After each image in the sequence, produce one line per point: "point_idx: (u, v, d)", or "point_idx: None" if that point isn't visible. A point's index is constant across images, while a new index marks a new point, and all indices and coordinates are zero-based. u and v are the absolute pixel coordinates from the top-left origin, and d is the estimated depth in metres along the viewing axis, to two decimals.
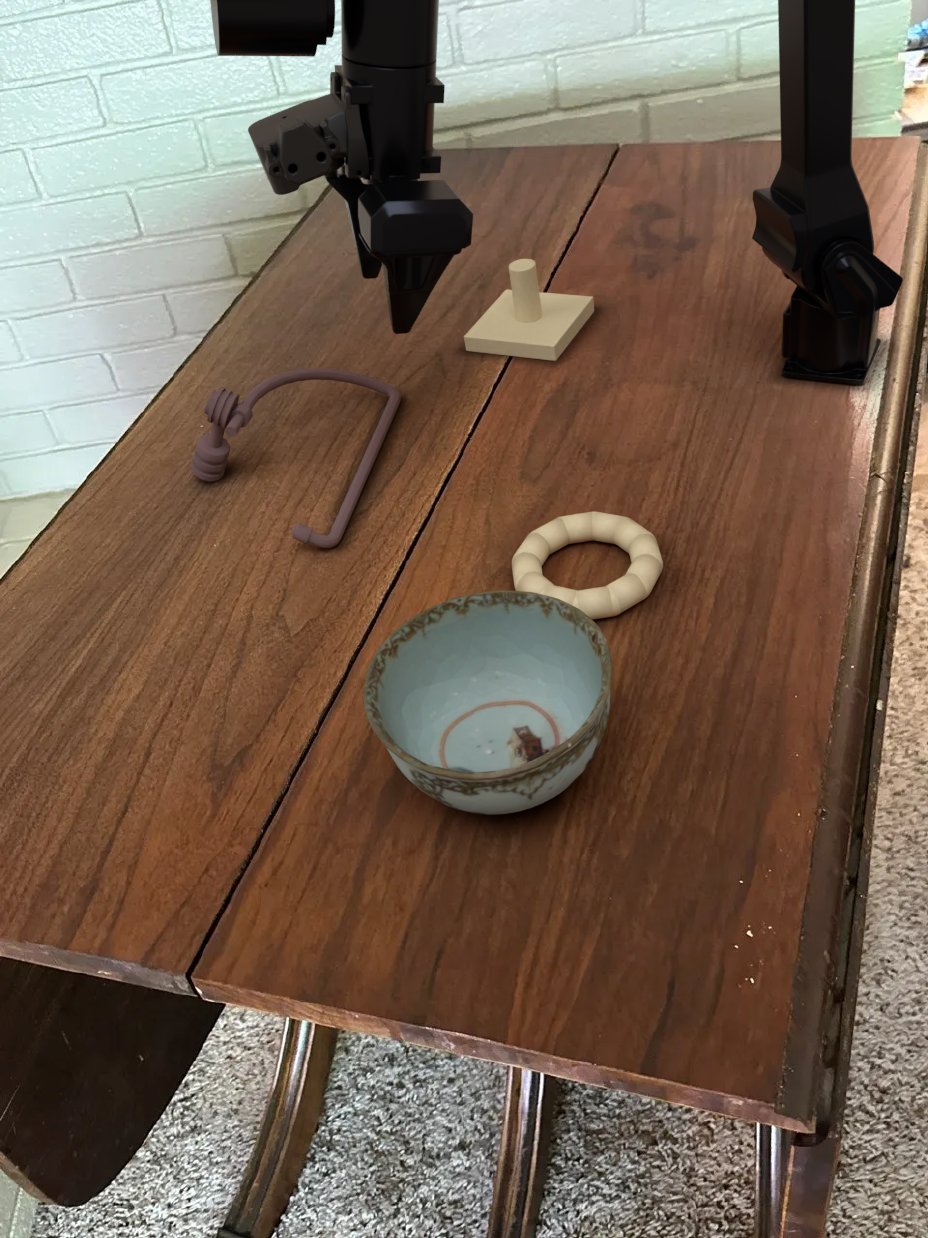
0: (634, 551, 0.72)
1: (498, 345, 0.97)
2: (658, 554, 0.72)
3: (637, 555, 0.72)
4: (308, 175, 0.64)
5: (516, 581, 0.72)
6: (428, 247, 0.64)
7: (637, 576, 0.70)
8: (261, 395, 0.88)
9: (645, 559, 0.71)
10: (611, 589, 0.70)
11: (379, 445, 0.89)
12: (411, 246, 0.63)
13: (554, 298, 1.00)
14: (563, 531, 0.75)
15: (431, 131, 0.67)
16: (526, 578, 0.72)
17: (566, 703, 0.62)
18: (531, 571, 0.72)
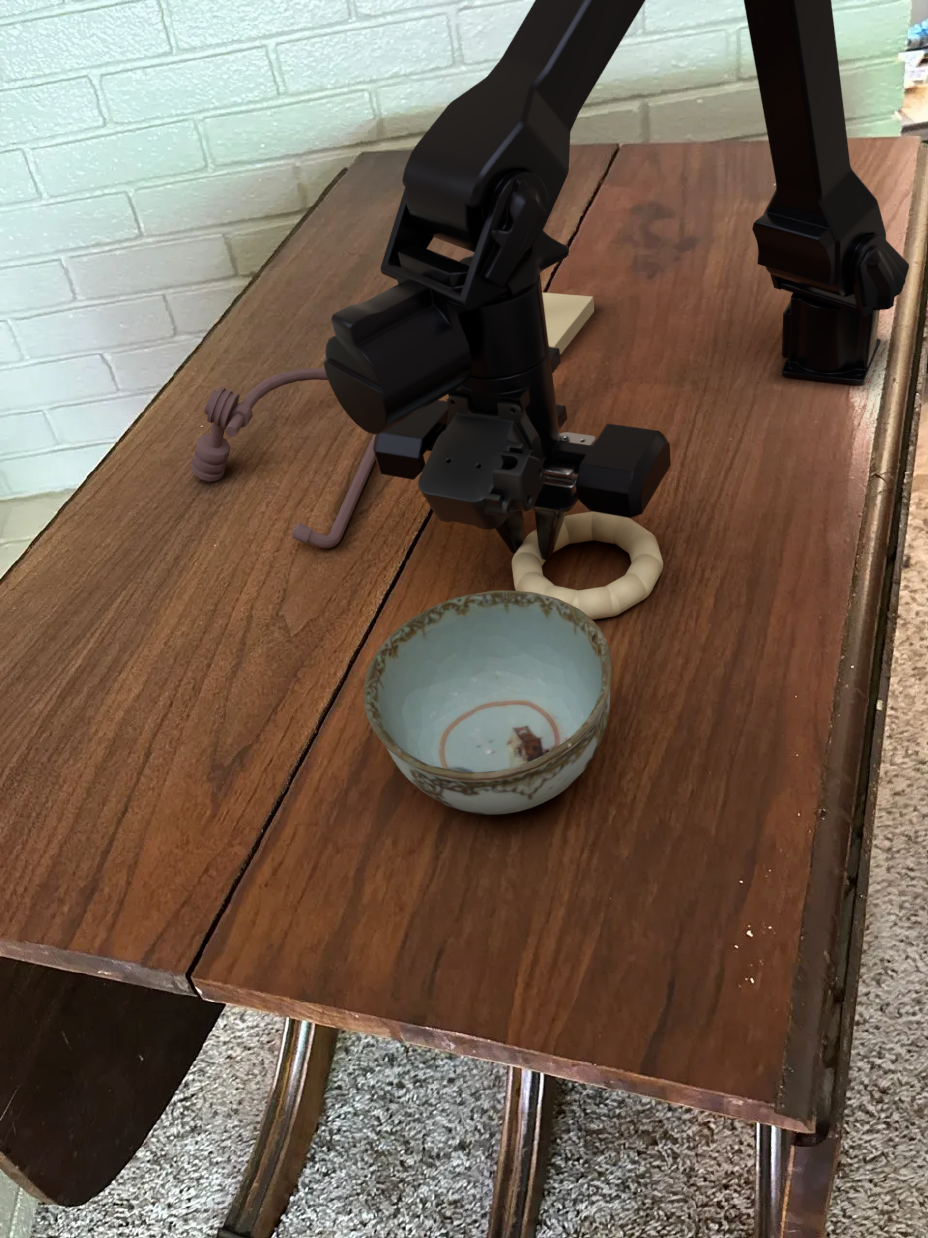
0: (634, 551, 0.72)
1: None
2: (658, 554, 0.72)
3: (637, 555, 0.72)
4: (536, 495, 0.63)
5: (516, 581, 0.72)
6: (658, 484, 0.66)
7: (637, 576, 0.70)
8: (261, 395, 0.88)
9: (645, 559, 0.71)
10: (611, 589, 0.70)
11: None
12: (652, 492, 0.65)
13: (554, 298, 1.00)
14: (563, 531, 0.75)
15: None
16: (526, 578, 0.72)
17: (566, 703, 0.62)
18: (531, 571, 0.72)
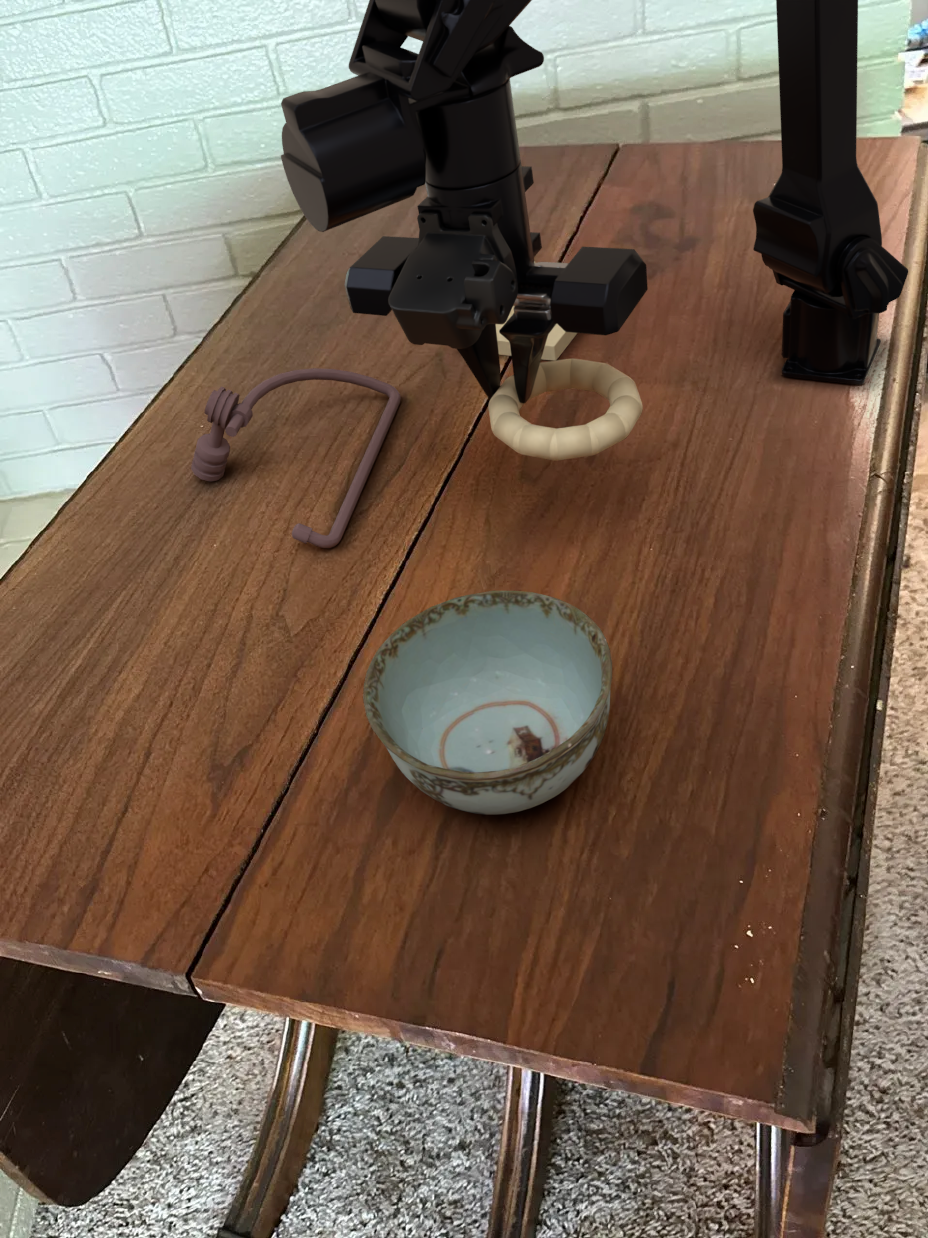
0: (613, 394, 0.71)
1: (498, 345, 0.97)
2: (638, 396, 0.71)
3: (616, 397, 0.71)
4: (509, 308, 0.61)
5: (493, 421, 0.71)
6: (634, 305, 0.65)
7: (616, 415, 0.69)
8: (261, 395, 0.88)
9: (624, 400, 0.70)
10: (590, 426, 0.68)
11: (379, 445, 0.89)
12: (628, 312, 0.64)
13: None
14: (541, 376, 0.74)
15: None
16: (503, 417, 0.70)
17: (566, 703, 0.62)
18: (508, 411, 0.71)
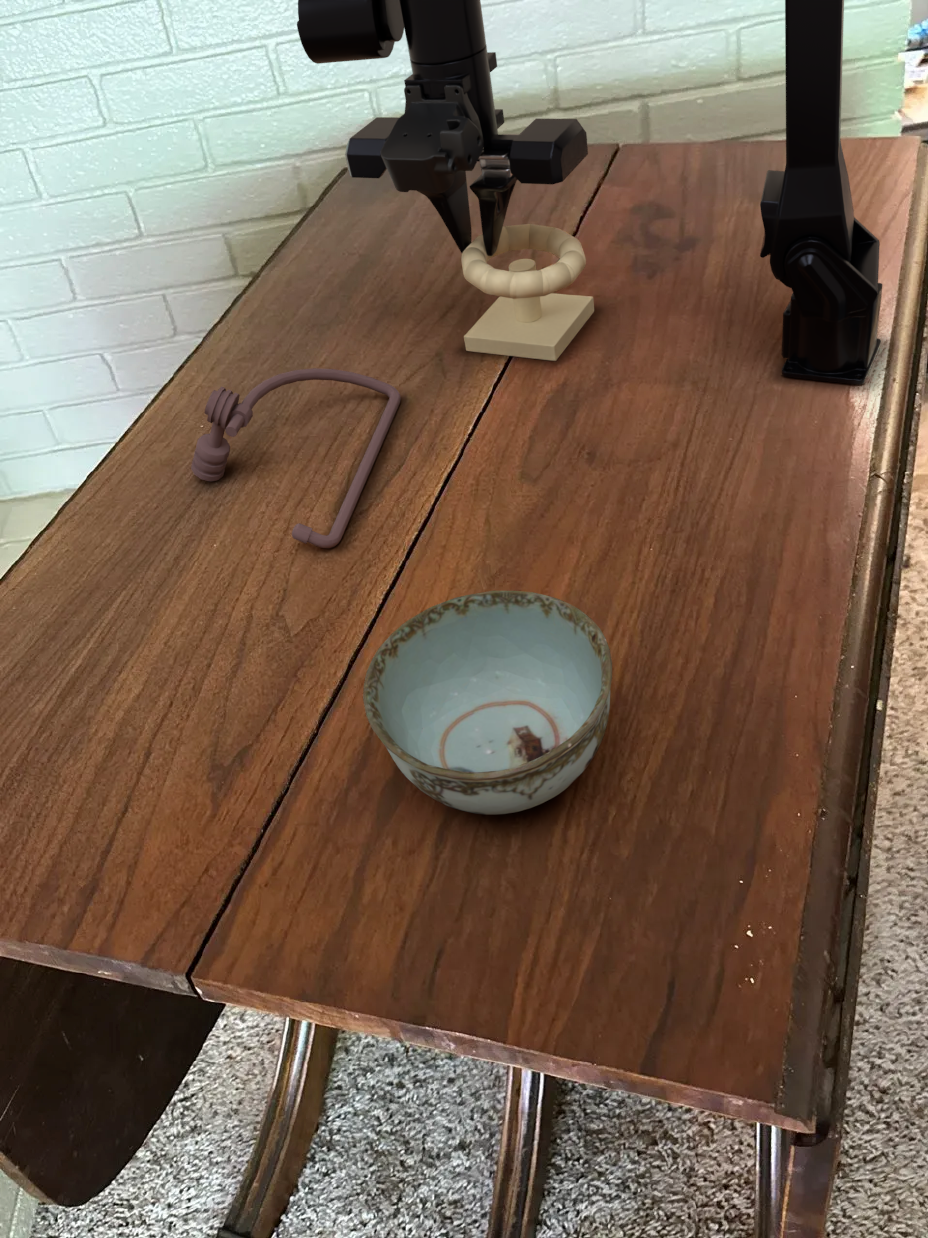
0: (563, 250, 0.88)
1: (498, 345, 0.97)
2: (582, 252, 0.87)
3: (565, 252, 0.87)
4: (476, 159, 0.78)
5: (465, 267, 0.87)
6: (576, 163, 0.81)
7: (564, 264, 0.86)
8: (261, 395, 0.88)
9: (571, 253, 0.87)
10: (543, 271, 0.85)
11: (379, 445, 0.89)
12: (571, 167, 0.80)
13: (554, 298, 1.00)
14: (505, 236, 0.90)
15: None
16: (473, 263, 0.87)
17: (566, 703, 0.62)
18: (477, 259, 0.87)
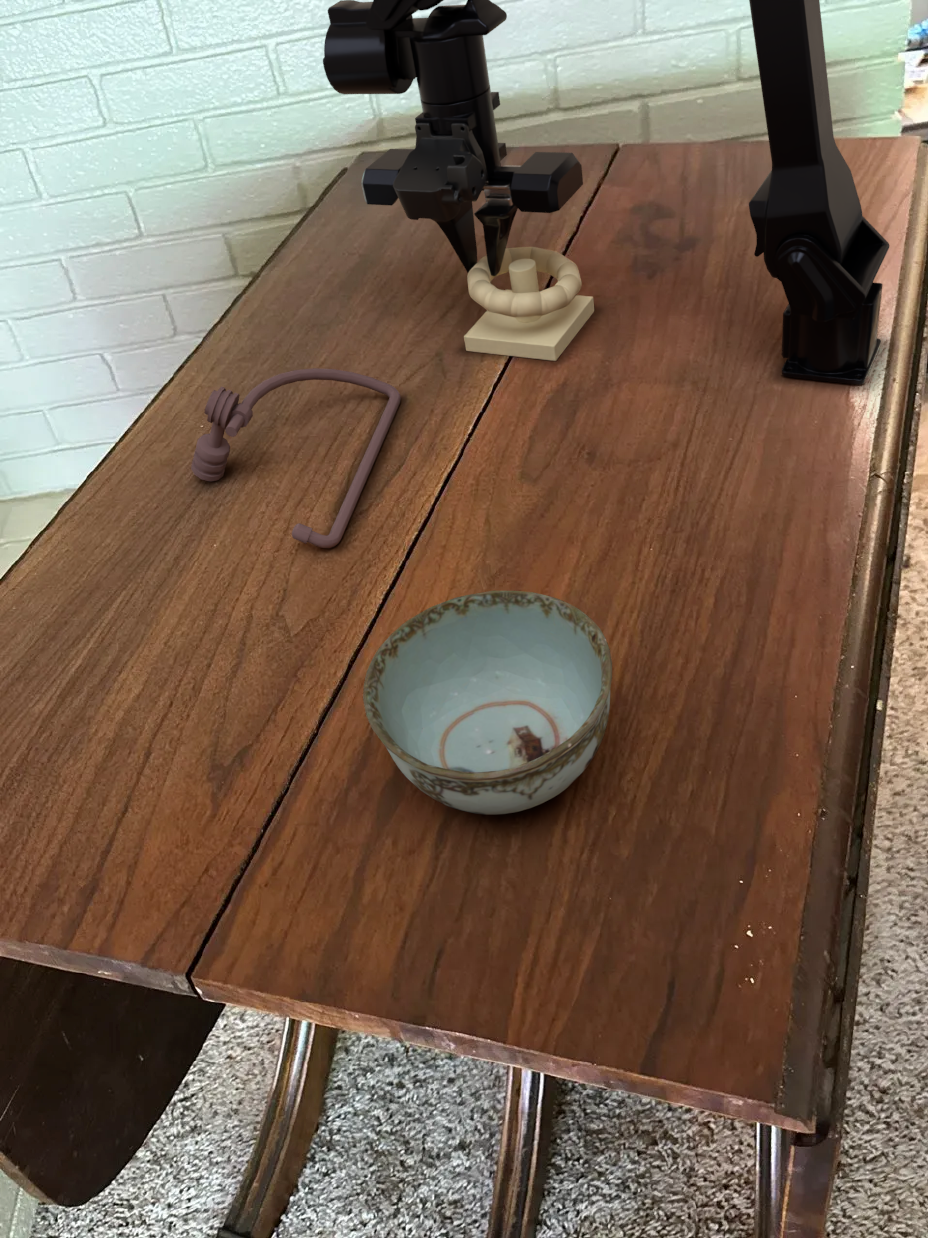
0: (560, 273, 0.96)
1: (498, 345, 0.97)
2: (578, 276, 0.95)
3: (563, 275, 0.95)
4: (479, 190, 0.86)
5: (470, 286, 0.95)
6: (572, 193, 0.89)
7: (562, 287, 0.94)
8: (261, 395, 0.88)
9: (568, 277, 0.95)
10: (542, 293, 0.93)
11: (379, 445, 0.89)
12: (567, 197, 0.88)
13: None
14: (508, 258, 0.98)
15: None
16: (478, 283, 0.94)
17: (566, 703, 0.62)
18: (482, 279, 0.95)
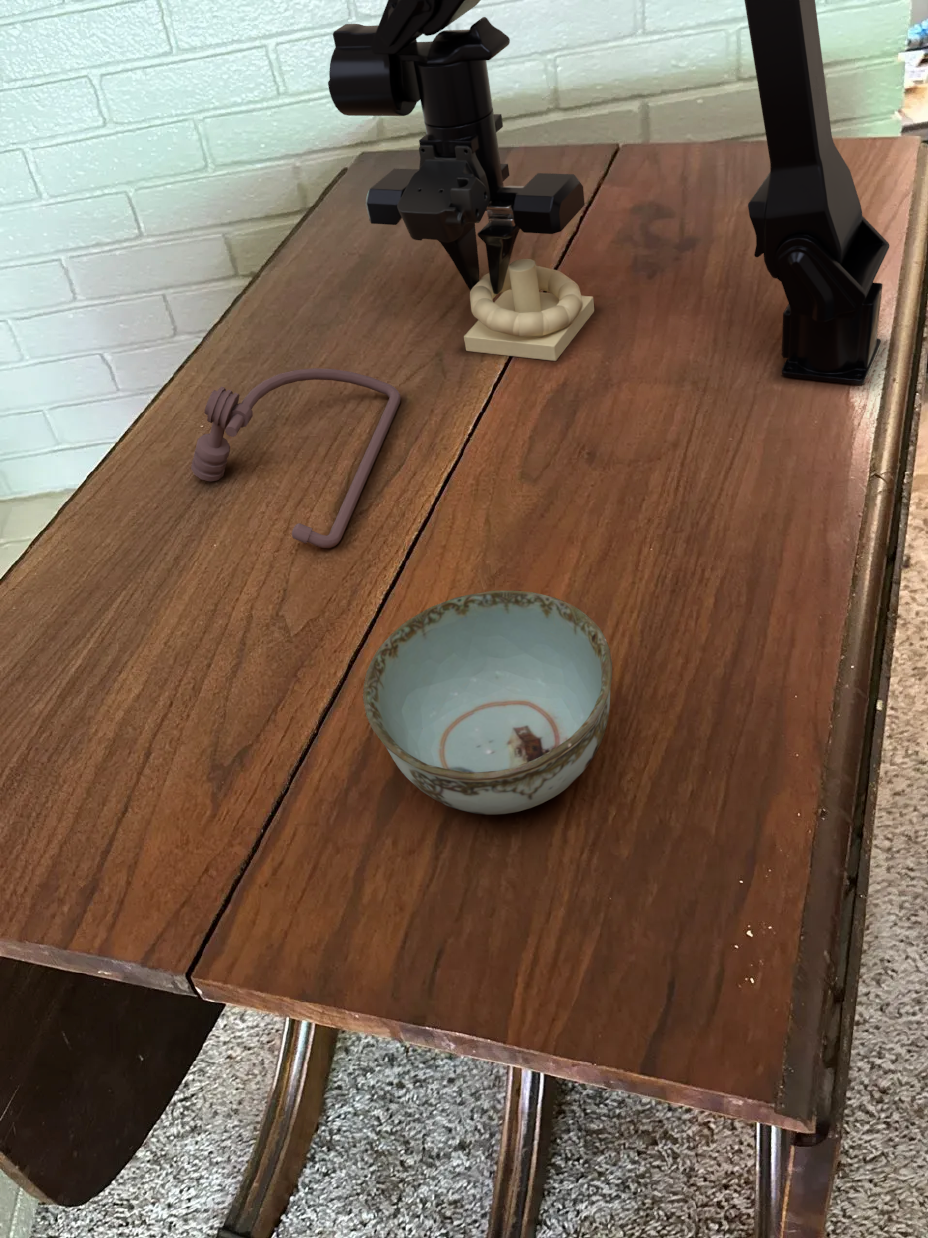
0: (562, 293, 0.97)
1: (498, 345, 0.97)
2: (580, 296, 0.97)
3: (564, 295, 0.97)
4: (483, 212, 0.87)
5: (473, 304, 0.96)
6: (574, 214, 0.90)
7: (563, 307, 0.95)
8: (261, 395, 0.88)
9: (570, 297, 0.96)
10: (544, 313, 0.94)
11: (379, 445, 0.89)
12: (569, 218, 0.89)
13: (554, 298, 1.00)
14: None
15: None
16: (481, 301, 0.96)
17: (566, 703, 0.62)
18: (485, 297, 0.96)
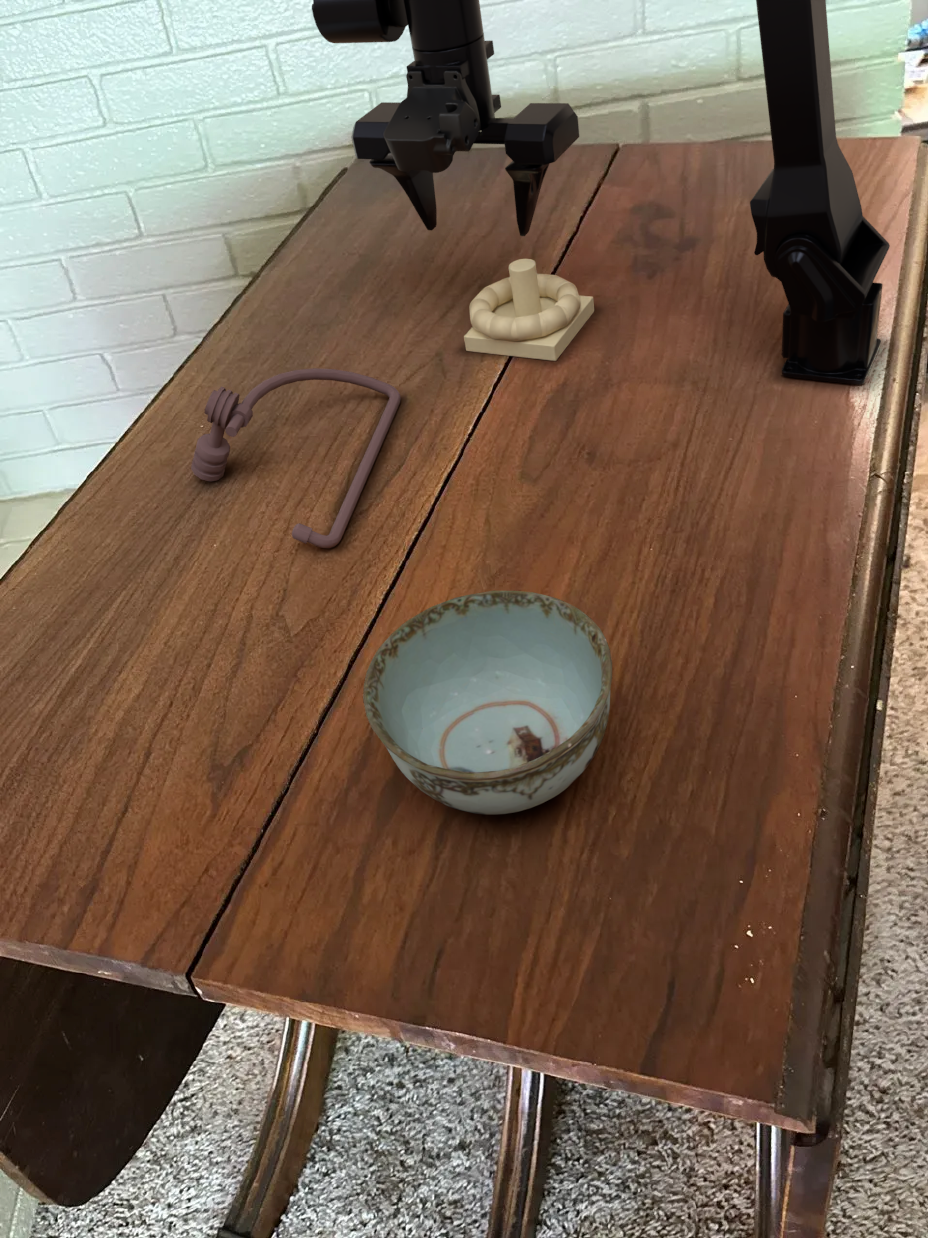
0: (559, 294, 0.97)
1: (498, 345, 0.97)
2: (577, 295, 0.97)
3: (561, 296, 0.97)
4: (473, 140, 0.83)
5: (471, 316, 0.97)
6: (568, 145, 0.86)
7: (560, 307, 0.95)
8: (261, 395, 0.88)
9: (566, 297, 0.96)
10: (540, 314, 0.94)
11: (379, 445, 0.89)
12: (563, 149, 0.86)
13: None
14: (508, 286, 1.00)
15: None
16: (479, 312, 0.97)
17: (566, 703, 0.62)
18: (482, 308, 0.97)
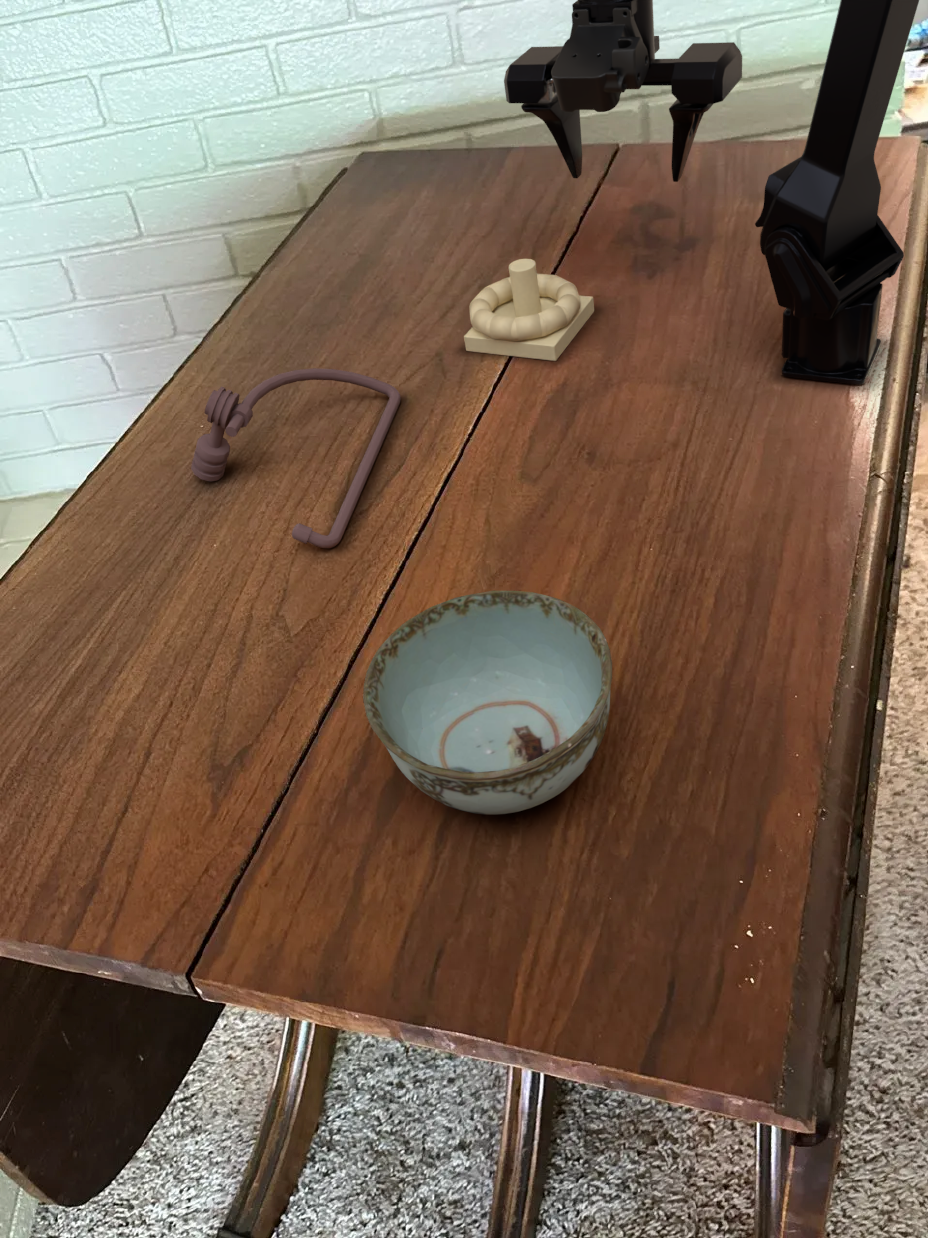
0: (559, 294, 0.97)
1: (498, 345, 0.97)
2: (577, 295, 0.97)
3: (561, 296, 0.97)
4: (643, 78, 0.82)
5: (471, 316, 0.97)
6: (733, 85, 0.85)
7: (560, 307, 0.95)
8: (261, 395, 0.88)
9: (566, 297, 0.96)
10: (540, 314, 0.94)
11: (379, 445, 0.89)
12: (729, 88, 0.84)
13: None
14: (508, 286, 1.00)
15: None
16: (479, 312, 0.97)
17: (566, 703, 0.62)
18: (482, 308, 0.97)
